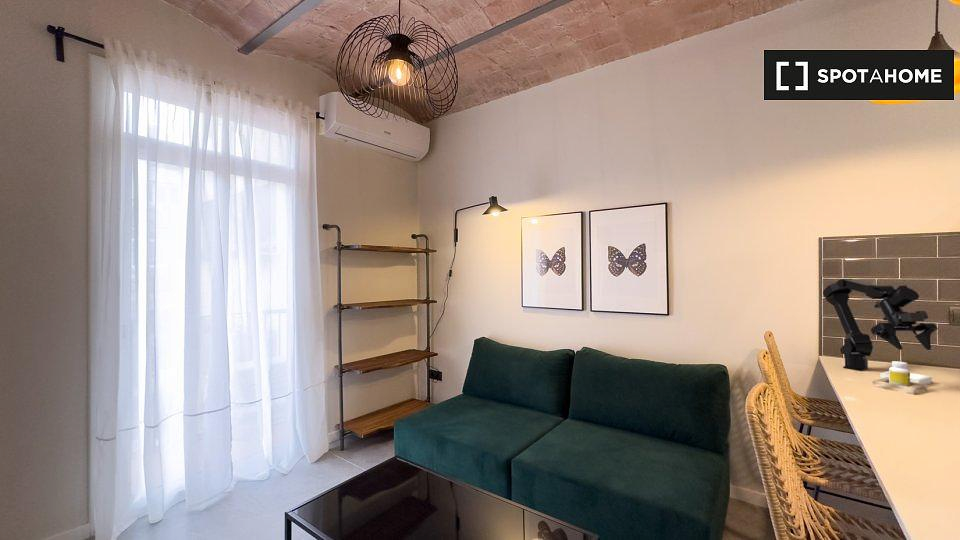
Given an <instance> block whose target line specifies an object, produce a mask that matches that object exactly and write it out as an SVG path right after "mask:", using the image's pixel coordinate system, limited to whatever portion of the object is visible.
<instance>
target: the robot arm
mask: <svg viewBox="0 0 960 540" xmlns="http://www.w3.org/2000/svg"><path fill="white" fill-rule="evenodd" d="M853 291H856V292H859V293H862V294H864V295H865V296H866V297H868V298H870V299H872V300H878V301H876V303H875V304H874V308H875V309H880V310H881V312H882V315H884V317H883V318H882V319H883V320H884V322H878V323H876V324H875V325H873V326H872V327H871V328H870V332H871V334H872V336H877V337H878V338H881V339H883V340H884V341H886V342H887V343H889V344H890V345H892V346H894V347H895V348H896V349H898V350H899V351H902V350H903V346H902V344H901V342H900V341H899V338H898V337H897V333H896V332H912V333H913V334H914V337H915V339H917V341H918V342H919V343H920V344H921V345H922V346H923V347H924V349H926V350H927V351H931V350H932V345H931V344H932V343H931V335H932V334H933V333H935V331H937V330H939V328H938V326H937V325H936V323H932V322H925V320H928V319H929V315H928V313H927V312H926V311H925V310H916V311H915V312H908V311H904V310H903V309H904V308H905V307H907V306H909V305H910V304H912V303H914V302H915V301H917V300H918V299H919V297H920V295H919V293H918V292H917V291H916V290H914V289H913V288H909V287H908V286H907V285H899V286H898V287H897V288H895V287H894V286H893V285H891V284H872V283H869V282H864V281H861V280H856V279H853V278H841V279H839V280H836V282H834V283H831V284H829V285H828V286H826V287H825V288H824V289H823V291H822V295H823V296H824V298H825V300H826V301H827V302H828V303H829V304H831V306H833V307H834V310H835V311H836V314H837V316H838V319H839V321H840V324H841V325H842V328H843V330H844V333H845V337H844V340H843V341H844V344H843V345H842V346H841V348H839V351H840V354H841V355H844V365H843V366H842V368H844V369H850V370H853V371H854V370H855V371H859V372H860V371H866V370H869V361H868V358H867V357H871V355H872V352H873V349H874V345H873V341H872V340H871V337H870V335H869V334H867V333H866V334H865V333H862V332H861V330H860V328H859V326H858V323H857V322H856V319H855V316H854V315H853V313H852V310H851V308H850V306H849V303H848V302H849V299H850V294H851V293H852V292H853ZM879 300H880V301H879ZM885 321H887V322H885ZM917 322H921V323H919V324H917ZM916 324H917V325H916ZM914 325H915V326H914Z"/></svg>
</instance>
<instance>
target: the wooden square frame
mask: <svg viewBox="0 0 960 540" xmlns="http://www.w3.org/2000/svg"><path fill="white" fill-rule="evenodd" d="M872 387H874V388H881V389H885V390H889V391H895V392H899V393H904V394H909V395H916V394H920V393H923V392H926V391H928V384H927V385H926V384H920V383H915V382H910V386H909V387H907V386H902V385H897V384H892V383H889V378H888V377H886V378H882V379H880V378H879V379H876V380H875V379H874V380H873V381H872Z"/></svg>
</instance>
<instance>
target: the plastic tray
mask: <svg viewBox="0 0 960 540" xmlns="http://www.w3.org/2000/svg"><path fill="white" fill-rule="evenodd" d="M879 377H880V378H879V379H882V378H886V377H888V378H889V370H887V371H884V372H880V375H879ZM910 382H915V383H920V384H926V385H927V386H928V385H929V384H932V383H933V376H932V375H925V374H921V373H916V372H915V373H914V372H910Z"/></svg>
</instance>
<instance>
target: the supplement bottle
mask: <svg viewBox="0 0 960 540" xmlns="http://www.w3.org/2000/svg"><path fill="white" fill-rule="evenodd" d="M888 371H889V383H892V384H897V385H902V386H907V387H909V386H910V373H911V370H910V369H908V362H904V361H899V360H898V361H897V360H896V361H893V360H892V361H891V367H889V368H888Z"/></svg>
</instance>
